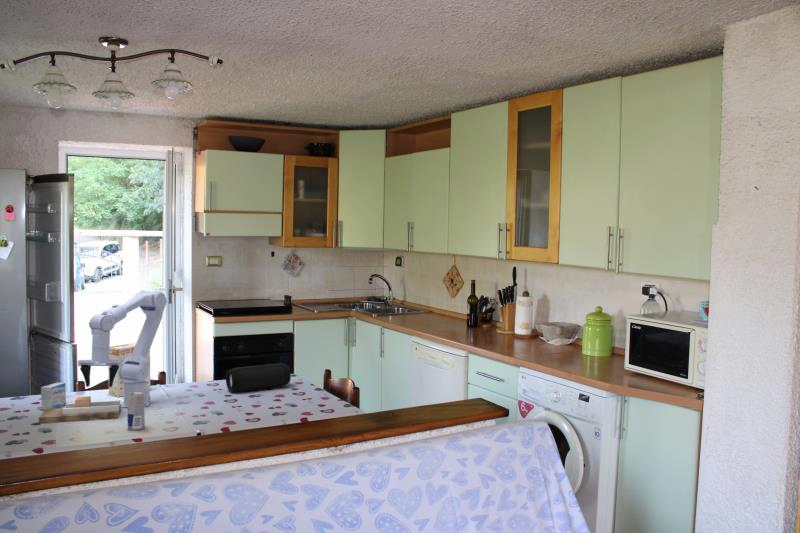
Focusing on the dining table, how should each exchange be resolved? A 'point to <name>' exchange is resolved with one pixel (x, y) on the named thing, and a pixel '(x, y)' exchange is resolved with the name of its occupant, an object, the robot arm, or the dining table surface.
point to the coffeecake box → (119, 354)
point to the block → (83, 401)
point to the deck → (74, 416)
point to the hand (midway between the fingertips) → (99, 386)
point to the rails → (92, 407)
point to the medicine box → (53, 396)
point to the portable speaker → (257, 377)
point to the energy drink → (136, 410)
